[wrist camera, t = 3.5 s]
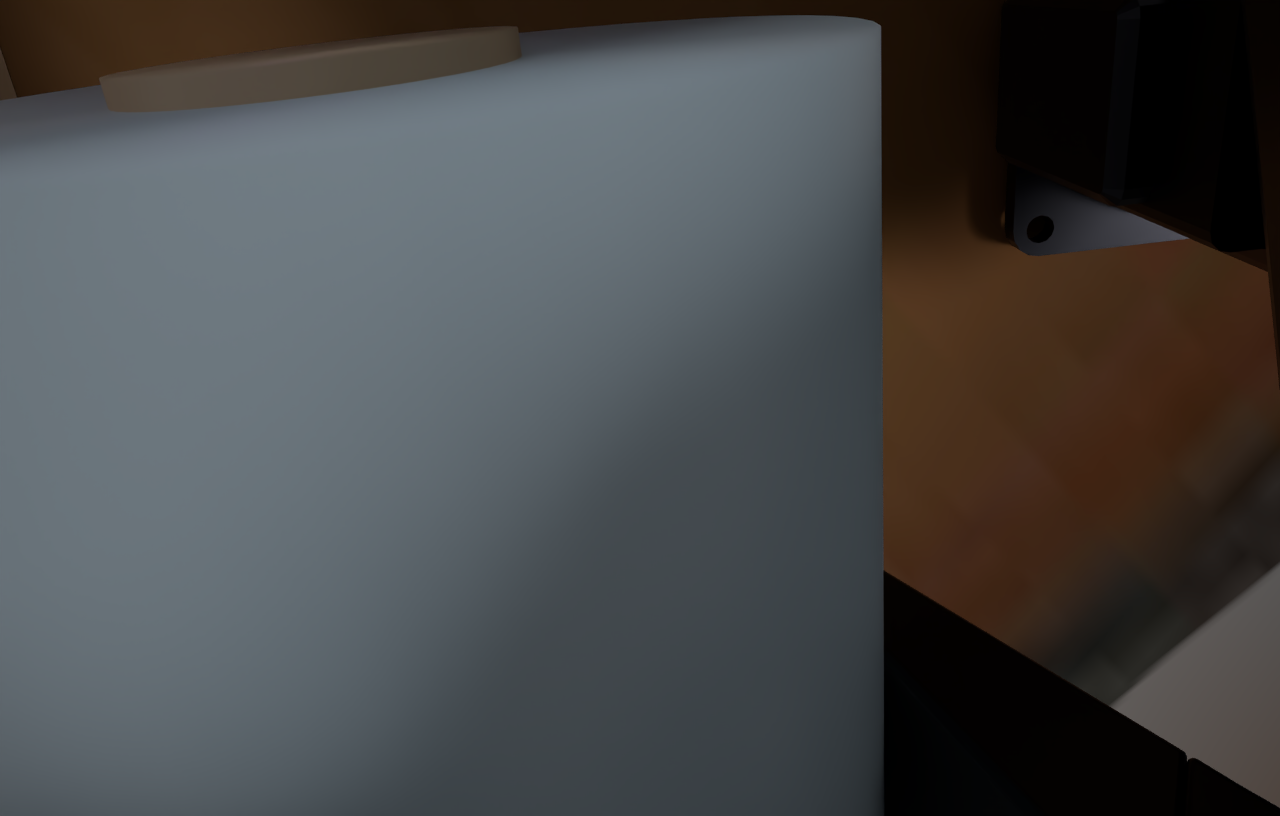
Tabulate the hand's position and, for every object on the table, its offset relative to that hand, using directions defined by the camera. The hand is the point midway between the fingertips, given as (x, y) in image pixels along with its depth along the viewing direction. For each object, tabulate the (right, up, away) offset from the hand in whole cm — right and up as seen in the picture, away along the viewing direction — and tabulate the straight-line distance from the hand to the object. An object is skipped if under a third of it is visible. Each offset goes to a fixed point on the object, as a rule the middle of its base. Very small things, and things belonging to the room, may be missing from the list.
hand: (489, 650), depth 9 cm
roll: (0, +1, +1) cm, 2 cm away
